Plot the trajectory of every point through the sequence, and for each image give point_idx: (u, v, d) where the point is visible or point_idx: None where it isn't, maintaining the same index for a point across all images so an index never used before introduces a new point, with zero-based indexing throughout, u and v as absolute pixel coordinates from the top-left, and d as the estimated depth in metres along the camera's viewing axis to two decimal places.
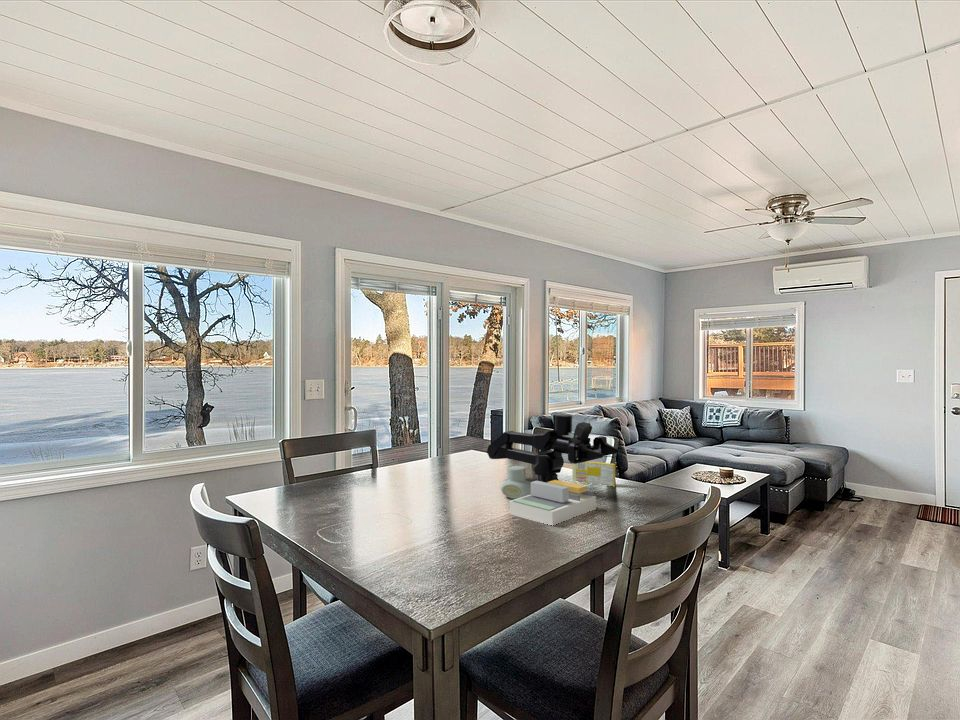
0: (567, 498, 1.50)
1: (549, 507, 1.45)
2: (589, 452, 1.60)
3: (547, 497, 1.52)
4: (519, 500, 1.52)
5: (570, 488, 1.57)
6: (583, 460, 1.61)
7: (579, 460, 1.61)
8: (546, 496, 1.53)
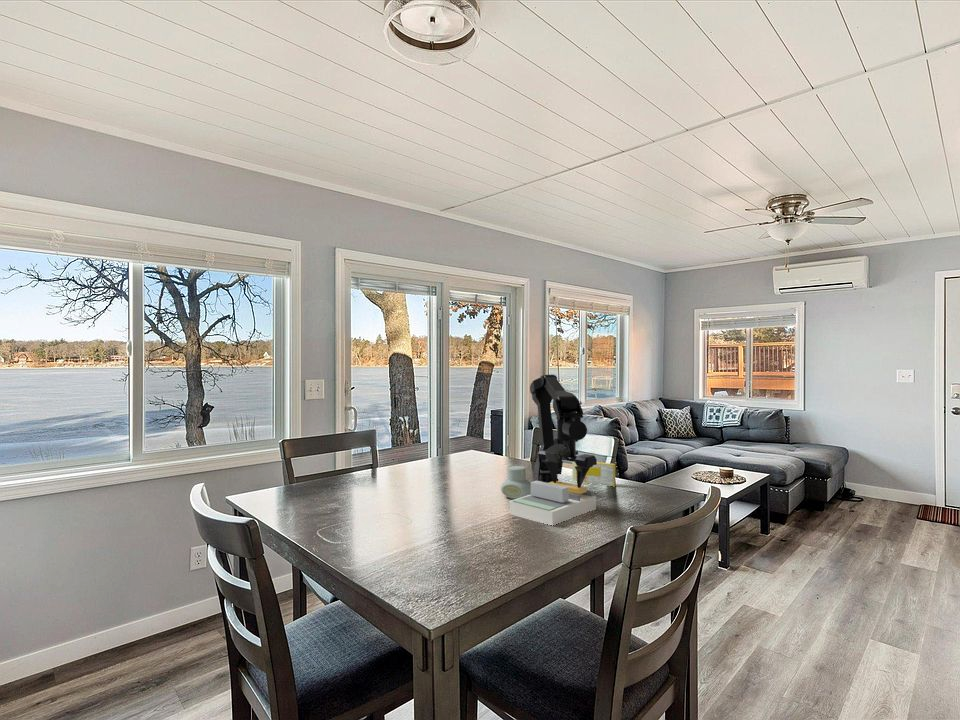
0: (567, 498, 1.50)
1: (549, 507, 1.45)
2: None
3: (547, 497, 1.52)
4: (519, 500, 1.52)
5: (570, 489, 1.57)
6: None
7: None
8: (546, 496, 1.53)
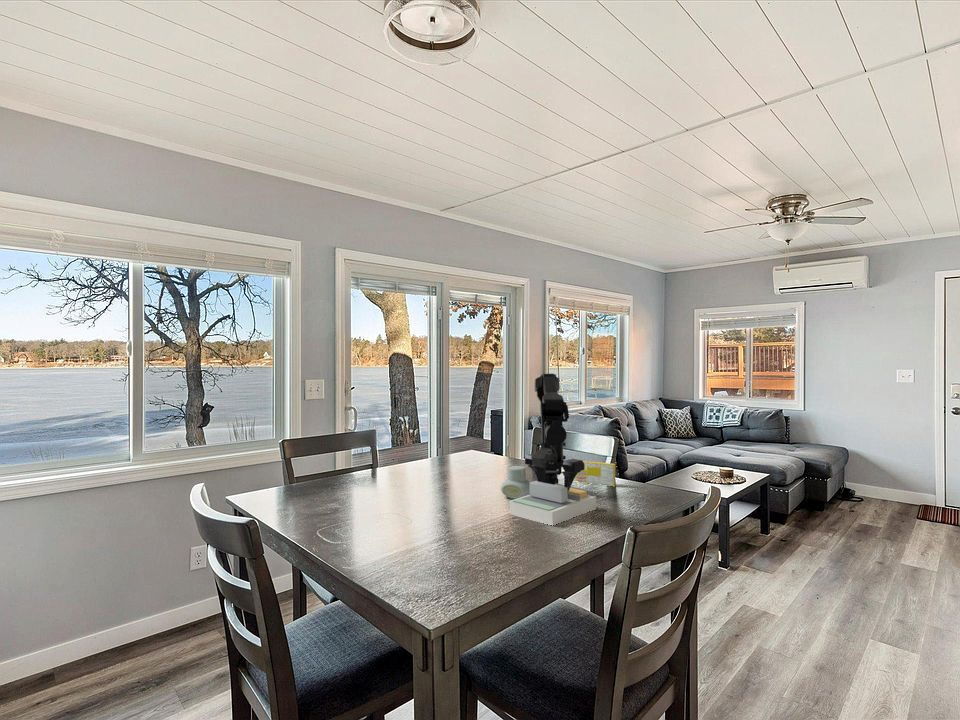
0: (566, 498, 1.50)
1: (549, 507, 1.45)
2: None
3: (546, 497, 1.52)
4: (519, 500, 1.52)
5: None
6: None
7: None
8: (545, 497, 1.52)
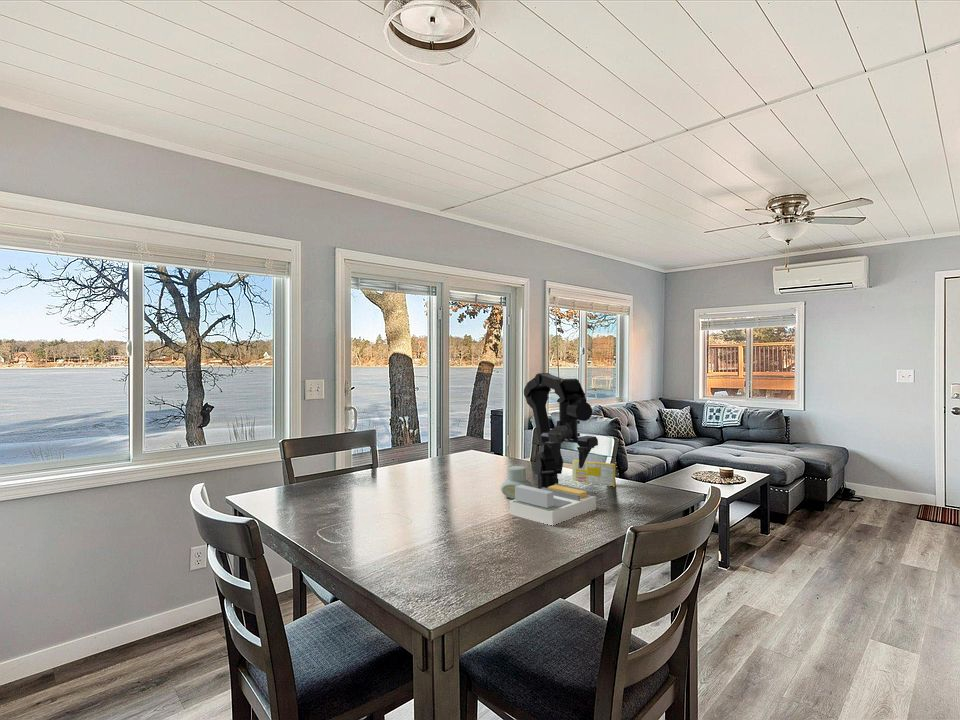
0: (552, 503, 1.45)
1: (549, 507, 1.45)
2: None
3: (532, 502, 1.47)
4: None
5: None
6: None
7: None
8: (531, 501, 1.48)
